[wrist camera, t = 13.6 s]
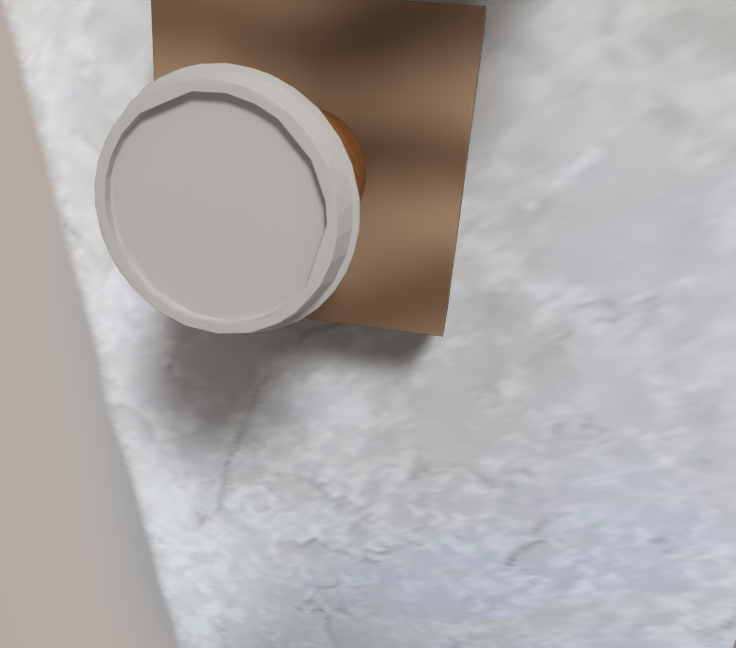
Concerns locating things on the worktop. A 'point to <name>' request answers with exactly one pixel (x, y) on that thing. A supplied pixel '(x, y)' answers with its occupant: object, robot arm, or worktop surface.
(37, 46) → the worktop surface
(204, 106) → the disposable coffee cup
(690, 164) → the worktop surface
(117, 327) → the worktop surface
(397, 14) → the walnut base
